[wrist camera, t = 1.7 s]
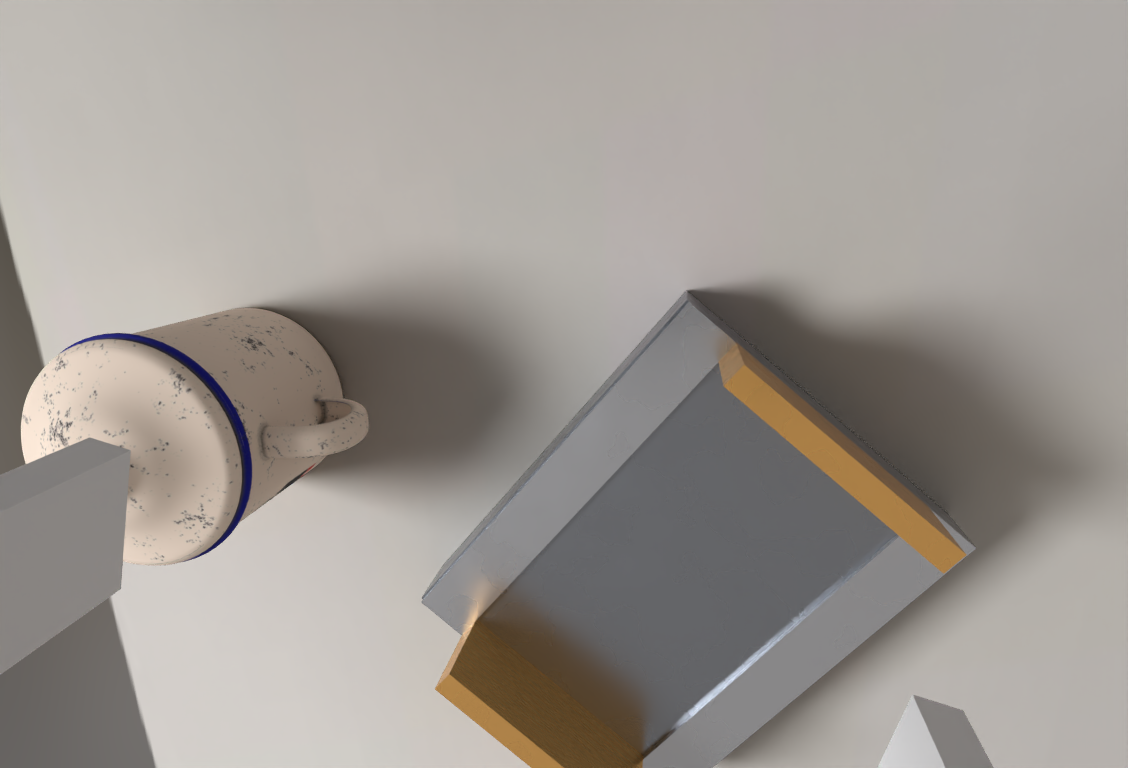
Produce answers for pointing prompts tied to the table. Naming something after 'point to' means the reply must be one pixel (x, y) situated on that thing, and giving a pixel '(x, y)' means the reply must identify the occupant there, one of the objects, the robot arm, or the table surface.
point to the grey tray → (680, 562)
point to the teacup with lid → (196, 421)
